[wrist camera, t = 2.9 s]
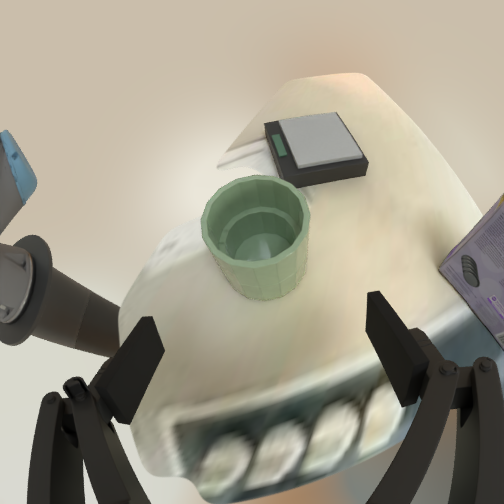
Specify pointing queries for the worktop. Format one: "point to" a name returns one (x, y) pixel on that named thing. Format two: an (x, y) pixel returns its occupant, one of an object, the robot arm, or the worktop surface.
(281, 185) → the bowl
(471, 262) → the cake pan box
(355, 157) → the scale
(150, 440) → the worktop surface
